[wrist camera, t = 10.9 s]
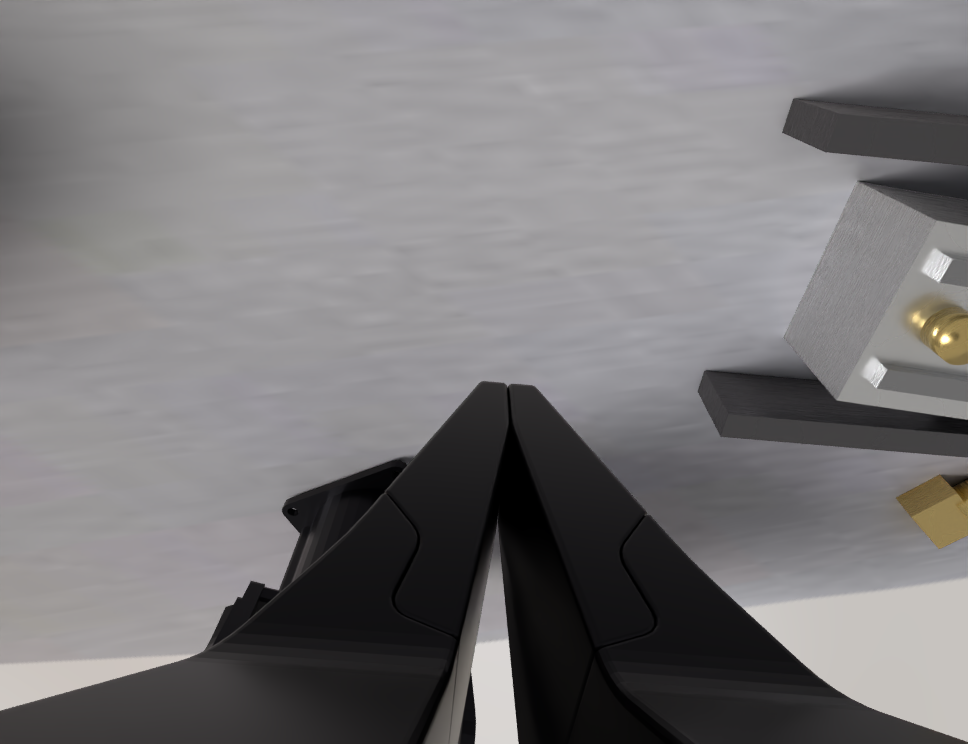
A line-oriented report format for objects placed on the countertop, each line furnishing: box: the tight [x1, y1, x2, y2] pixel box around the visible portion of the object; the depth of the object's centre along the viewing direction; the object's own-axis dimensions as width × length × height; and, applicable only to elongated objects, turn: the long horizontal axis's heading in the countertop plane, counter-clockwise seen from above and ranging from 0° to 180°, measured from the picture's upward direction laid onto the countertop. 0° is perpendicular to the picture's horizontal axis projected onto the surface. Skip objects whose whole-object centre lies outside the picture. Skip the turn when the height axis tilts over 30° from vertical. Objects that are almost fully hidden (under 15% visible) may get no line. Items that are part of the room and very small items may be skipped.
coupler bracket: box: [698, 99, 968, 457], centre depth 21 cm, size 14×11×3 cm
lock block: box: [783, 181, 968, 420], centre depth 20 cm, size 7×6×6 cm
